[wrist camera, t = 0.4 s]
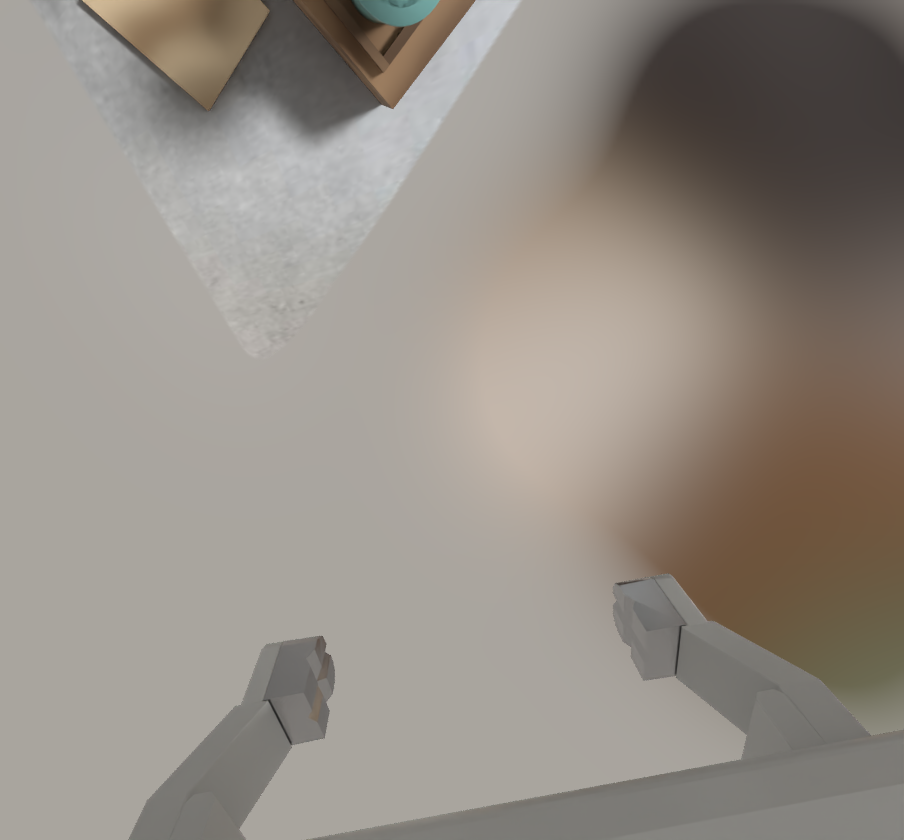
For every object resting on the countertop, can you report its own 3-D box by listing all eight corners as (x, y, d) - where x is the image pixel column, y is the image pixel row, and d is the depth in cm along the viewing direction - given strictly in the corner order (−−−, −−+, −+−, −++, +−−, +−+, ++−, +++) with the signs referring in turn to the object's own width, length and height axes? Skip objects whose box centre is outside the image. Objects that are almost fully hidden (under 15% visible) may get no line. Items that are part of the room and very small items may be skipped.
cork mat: (83, -1, 34) (80, -2, 33) (143, -130, 31) (140, -133, 30) (209, 110, 39) (208, 111, 39) (270, 11, 36) (269, 10, 36)
